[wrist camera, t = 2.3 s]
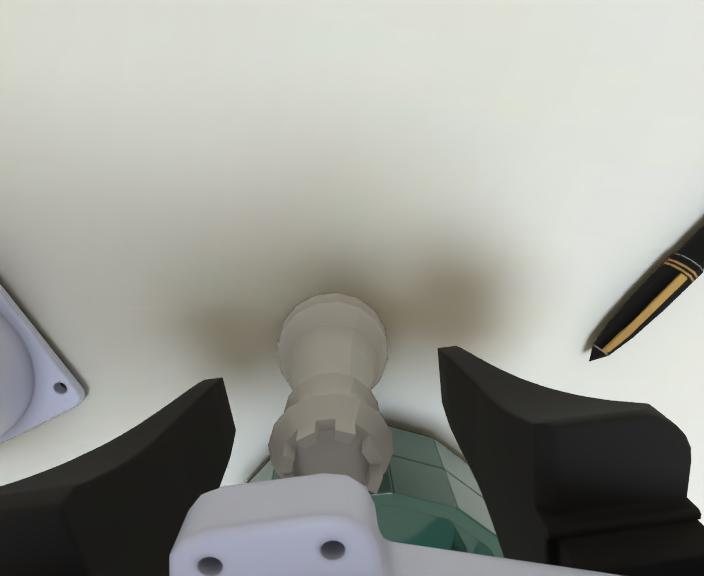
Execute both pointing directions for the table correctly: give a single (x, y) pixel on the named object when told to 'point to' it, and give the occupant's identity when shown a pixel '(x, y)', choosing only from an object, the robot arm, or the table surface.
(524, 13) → the table surface
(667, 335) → the table surface
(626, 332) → the fountain pen
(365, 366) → the rook chess piece
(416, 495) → the green faceted bowl
